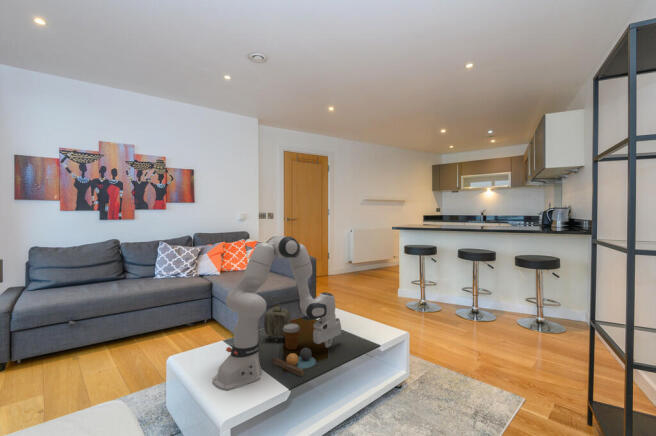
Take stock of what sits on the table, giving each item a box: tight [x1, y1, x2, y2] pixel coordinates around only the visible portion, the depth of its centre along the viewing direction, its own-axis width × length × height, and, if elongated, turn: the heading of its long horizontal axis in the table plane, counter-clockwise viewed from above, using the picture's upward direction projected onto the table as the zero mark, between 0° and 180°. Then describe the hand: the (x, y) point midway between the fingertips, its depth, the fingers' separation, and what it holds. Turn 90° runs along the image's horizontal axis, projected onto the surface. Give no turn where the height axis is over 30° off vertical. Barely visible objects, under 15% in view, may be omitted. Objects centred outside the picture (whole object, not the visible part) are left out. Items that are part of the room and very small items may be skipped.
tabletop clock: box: [263, 298, 292, 343], centre depth 188 cm, size 14×9×25 cm, turn 84°
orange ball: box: [285, 352, 298, 366], centre depth 156 cm, size 6×6×6 cm
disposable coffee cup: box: [283, 323, 301, 350], centre depth 178 cm, size 10×10×12 cm
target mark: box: [295, 355, 317, 370], centre depth 159 cm, size 14×14×1 cm
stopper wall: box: [272, 357, 305, 377], centre depth 152 cm, size 2×20×2 cm, turn 48°
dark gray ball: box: [299, 347, 313, 360], centre depth 162 cm, size 6×6×6 cm
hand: (328, 346), depth 174 cm, fingers closed
